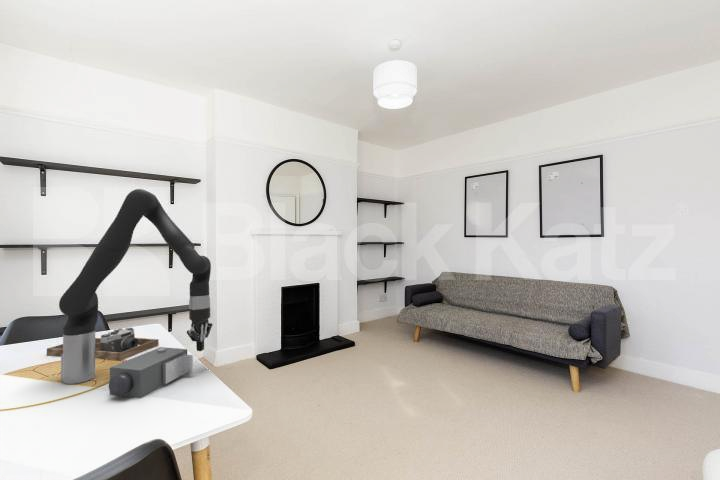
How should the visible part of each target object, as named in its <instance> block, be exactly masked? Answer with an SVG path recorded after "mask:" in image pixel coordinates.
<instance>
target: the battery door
mask: <svg viewBox="0 0 720 480" xmlns="http://www.w3.org/2000/svg"><path fill="white" fill-rule="evenodd" d="M193 358H194V356H193V354H187V355H184V354H183V355H180V356H178V357H176V358H174V359H172V360H170V361H168V362H165V363H163V384H165V385H167V384H168V382H169V383H171V382H173V381H174V380H176V379H179V378H180V377H182V376H191V375H193V373H194V372H193V366H194V364H193V363H194V361H193ZM181 375H182V376H181ZM179 376H180V377H179ZM172 380H173V381H172ZM170 381H171V382H170Z"/></svg>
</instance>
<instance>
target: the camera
mask: <svg viewBox="0 0 720 480" xmlns="http://www.w3.org/2000/svg"><path fill="white" fill-rule="evenodd" d="M100 338H101V342H100V351H108V352H120V353H121V352H123V351H126V350H129V349H131V348H134V347H137V346H139V345H138V344H139V341H138V339H136V338H137V337H135V329H134V328H133V327H131V326H129V327H126V328H125V329H123V328H117V329H116V328H115V329H114V331H108V333H104V334H102V335H100Z"/></svg>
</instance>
